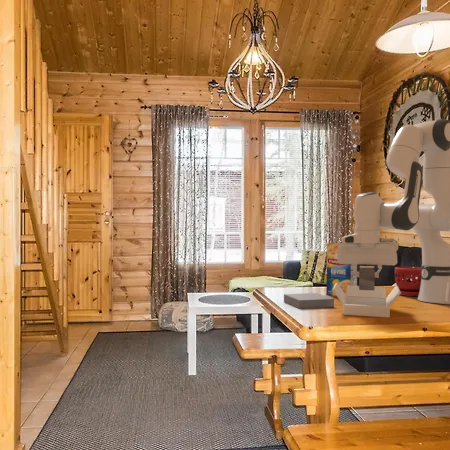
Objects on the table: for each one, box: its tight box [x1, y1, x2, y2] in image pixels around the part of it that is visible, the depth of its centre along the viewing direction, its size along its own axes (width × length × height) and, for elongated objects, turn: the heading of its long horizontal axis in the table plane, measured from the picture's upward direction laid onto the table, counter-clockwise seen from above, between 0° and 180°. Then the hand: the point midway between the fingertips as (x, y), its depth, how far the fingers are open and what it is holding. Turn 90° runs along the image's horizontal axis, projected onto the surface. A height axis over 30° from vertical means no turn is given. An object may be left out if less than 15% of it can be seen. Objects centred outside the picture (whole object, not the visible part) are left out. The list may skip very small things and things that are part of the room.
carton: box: [333, 283, 401, 318], centre depth 167 cm, size 21×22×9 cm
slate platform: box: [283, 292, 335, 309], centre depth 178 cm, size 14×14×3 cm
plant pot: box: [394, 266, 422, 298], centre depth 204 cm, size 13×13×12 cm
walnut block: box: [358, 265, 376, 291], centre depth 166 cm, size 12×5×7 cm, turn 163°
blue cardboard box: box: [325, 242, 358, 297], centre depth 201 cm, size 7×11×22 cm, turn 52°
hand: (366, 277), depth 166 cm, fingers closed on walnut block, 5 cm apart
